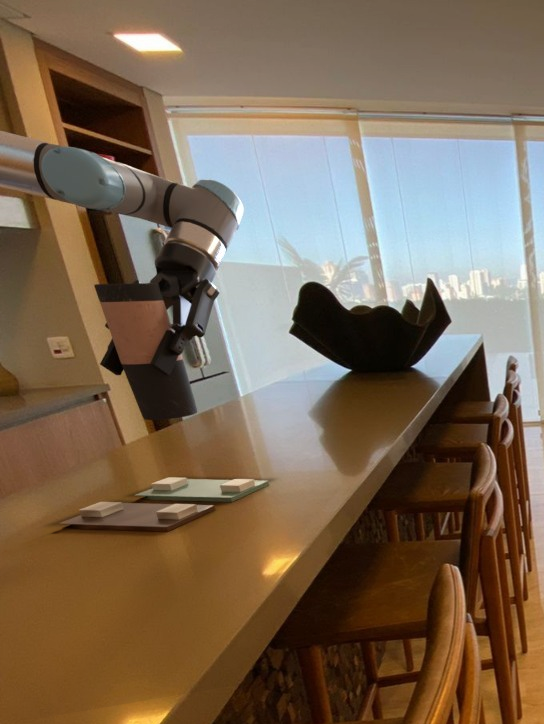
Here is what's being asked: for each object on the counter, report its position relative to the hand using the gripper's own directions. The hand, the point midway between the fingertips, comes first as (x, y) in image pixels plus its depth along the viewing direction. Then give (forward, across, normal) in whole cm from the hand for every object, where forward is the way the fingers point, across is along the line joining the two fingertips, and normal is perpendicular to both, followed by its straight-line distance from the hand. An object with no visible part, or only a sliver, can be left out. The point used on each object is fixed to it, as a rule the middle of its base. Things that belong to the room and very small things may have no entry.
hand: (134, 369), depth 86 cm
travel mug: (+3, 0, -8) cm, 9 cm away
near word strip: (+20, +1, -11) cm, 23 cm away
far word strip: (+11, +1, -20) cm, 23 cm away
